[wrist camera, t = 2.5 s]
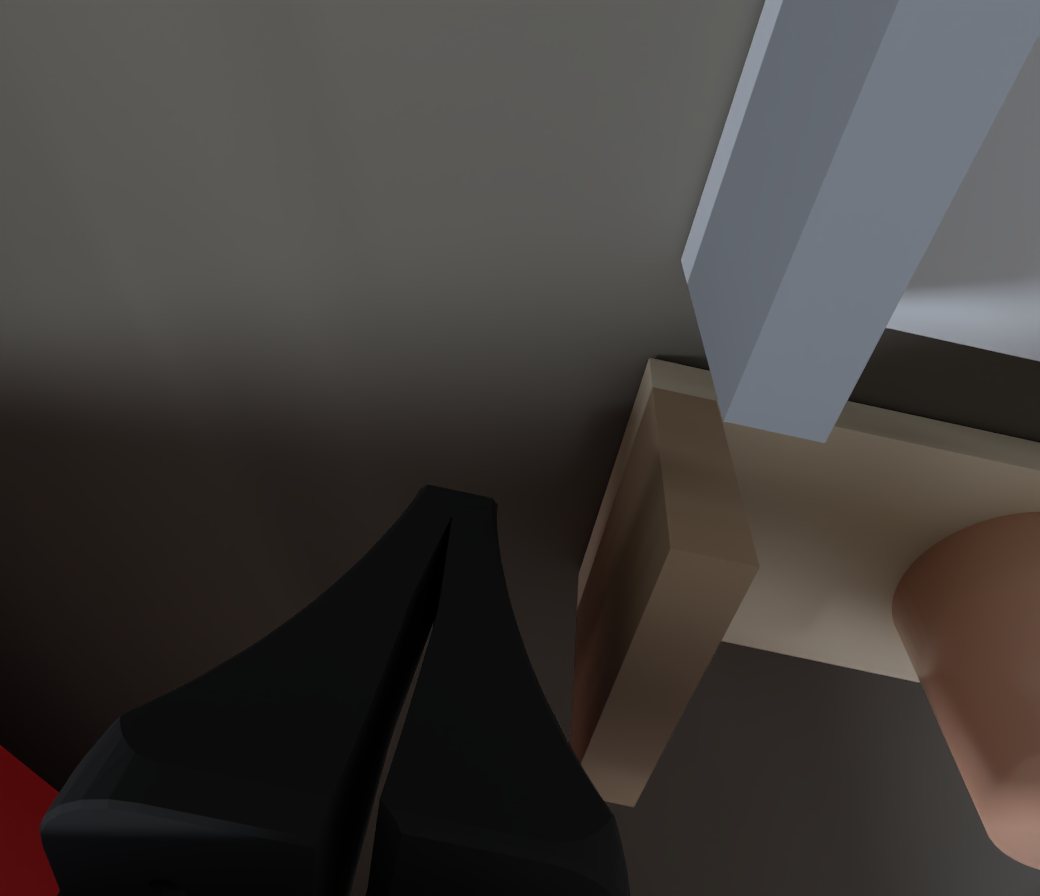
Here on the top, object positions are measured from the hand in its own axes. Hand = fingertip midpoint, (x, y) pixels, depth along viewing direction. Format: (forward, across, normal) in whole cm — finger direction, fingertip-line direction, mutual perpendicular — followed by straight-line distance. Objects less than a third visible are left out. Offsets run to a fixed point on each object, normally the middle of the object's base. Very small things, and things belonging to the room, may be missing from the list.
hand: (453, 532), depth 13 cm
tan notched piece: (+3, -9, 0) cm, 9 cm away
